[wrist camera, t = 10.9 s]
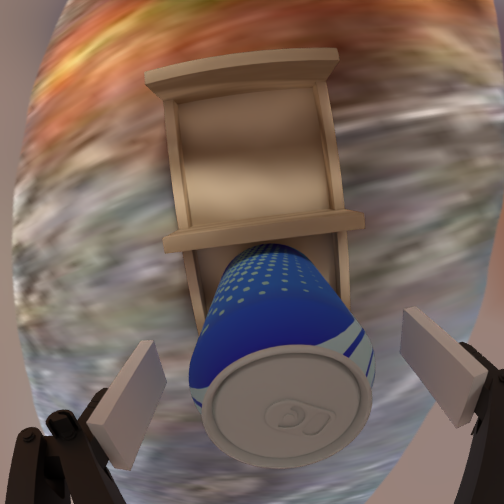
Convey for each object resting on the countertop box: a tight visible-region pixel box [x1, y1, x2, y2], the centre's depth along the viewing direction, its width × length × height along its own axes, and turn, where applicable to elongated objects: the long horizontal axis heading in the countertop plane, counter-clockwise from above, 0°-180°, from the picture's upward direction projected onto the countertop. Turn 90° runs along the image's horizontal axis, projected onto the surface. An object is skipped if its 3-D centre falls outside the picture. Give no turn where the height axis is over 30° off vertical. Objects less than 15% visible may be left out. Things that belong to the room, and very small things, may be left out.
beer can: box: [189, 243, 375, 469], centre depth 18 cm, size 8×8×16 cm
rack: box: [144, 48, 365, 336], centre depth 22 cm, size 24×13×7 cm, turn 7°
